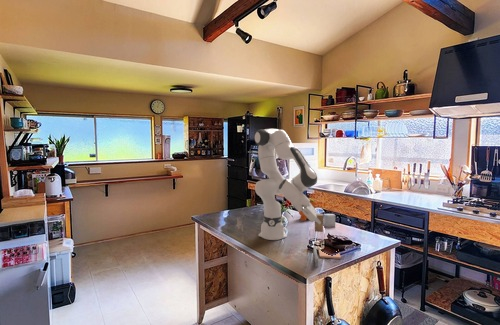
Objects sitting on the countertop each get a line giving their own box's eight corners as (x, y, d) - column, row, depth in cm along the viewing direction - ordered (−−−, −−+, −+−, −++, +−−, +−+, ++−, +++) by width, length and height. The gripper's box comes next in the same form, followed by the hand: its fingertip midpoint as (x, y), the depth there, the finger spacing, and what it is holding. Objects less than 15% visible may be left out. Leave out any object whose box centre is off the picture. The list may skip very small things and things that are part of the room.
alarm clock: (310, 217, 233) (311, 193, 231) (315, 218, 227) (316, 194, 225) (297, 219, 227) (297, 194, 225) (302, 220, 222) (302, 196, 220)
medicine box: (333, 224, 211) (333, 213, 210) (335, 226, 207) (335, 215, 206) (323, 225, 211) (323, 213, 210) (324, 226, 206) (325, 215, 206)
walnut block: (314, 229, 156) (314, 213, 155) (322, 229, 155) (322, 213, 154) (315, 231, 152) (315, 215, 151) (323, 231, 151) (323, 215, 150)
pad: (318, 249, 164) (318, 247, 164) (337, 250, 163) (337, 248, 162) (319, 257, 153) (319, 255, 152) (340, 258, 151) (340, 257, 151)
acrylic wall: (313, 252, 159) (313, 245, 159) (315, 252, 159) (315, 246, 158) (315, 266, 141) (315, 259, 141) (318, 267, 141) (318, 259, 141)
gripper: (306, 204, 143) (326, 223, 142) (305, 196, 163) (322, 213, 162) (297, 212, 144) (316, 231, 143) (298, 203, 164) (314, 220, 163)
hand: (320, 221), depth 153 cm, fingers closed on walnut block, 4 cm apart
